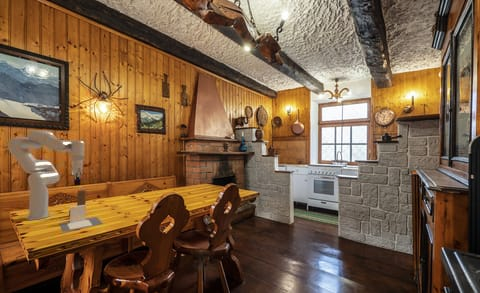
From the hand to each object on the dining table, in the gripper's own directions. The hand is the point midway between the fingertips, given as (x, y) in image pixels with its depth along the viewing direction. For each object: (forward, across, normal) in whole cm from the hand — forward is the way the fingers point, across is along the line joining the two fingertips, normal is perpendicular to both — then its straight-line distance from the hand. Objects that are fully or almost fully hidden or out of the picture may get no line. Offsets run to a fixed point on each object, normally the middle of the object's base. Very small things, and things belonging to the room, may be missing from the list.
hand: (77, 185), depth 145 cm
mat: (+23, +15, +1) cm, 28 cm away
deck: (+23, +8, 0) cm, 24 cm away
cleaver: (+23, -10, +2) cm, 25 cm away
